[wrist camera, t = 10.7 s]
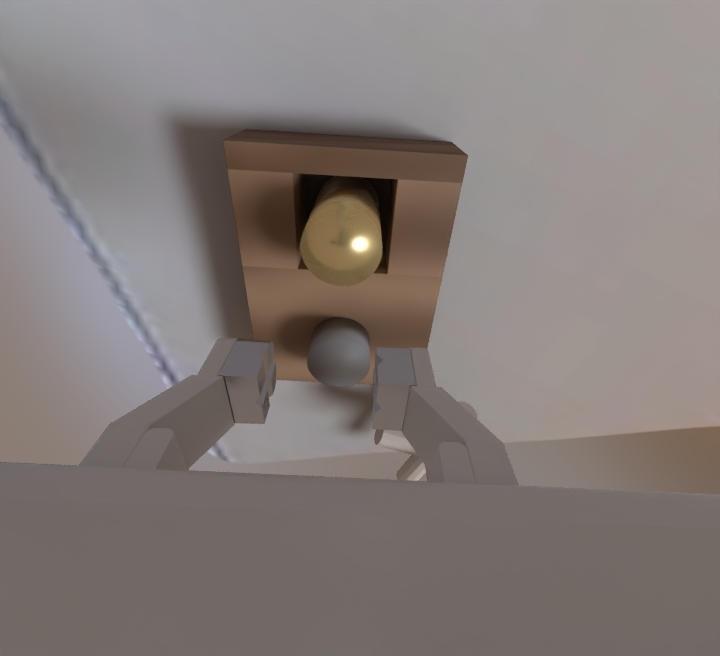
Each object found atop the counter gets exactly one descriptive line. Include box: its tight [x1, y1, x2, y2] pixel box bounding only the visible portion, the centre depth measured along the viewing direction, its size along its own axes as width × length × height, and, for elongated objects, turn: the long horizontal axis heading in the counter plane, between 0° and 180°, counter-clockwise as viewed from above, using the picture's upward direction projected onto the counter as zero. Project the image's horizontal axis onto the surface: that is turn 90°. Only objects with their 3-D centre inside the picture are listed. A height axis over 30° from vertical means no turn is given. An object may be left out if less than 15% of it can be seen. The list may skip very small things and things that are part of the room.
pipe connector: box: [374, 401, 477, 481], centre depth 30 cm, size 10×10×10 cm
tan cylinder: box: [300, 176, 383, 286], centre depth 20 cm, size 4×4×7 cm
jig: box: [223, 130, 468, 387], centre depth 23 cm, size 16×12×6 cm
